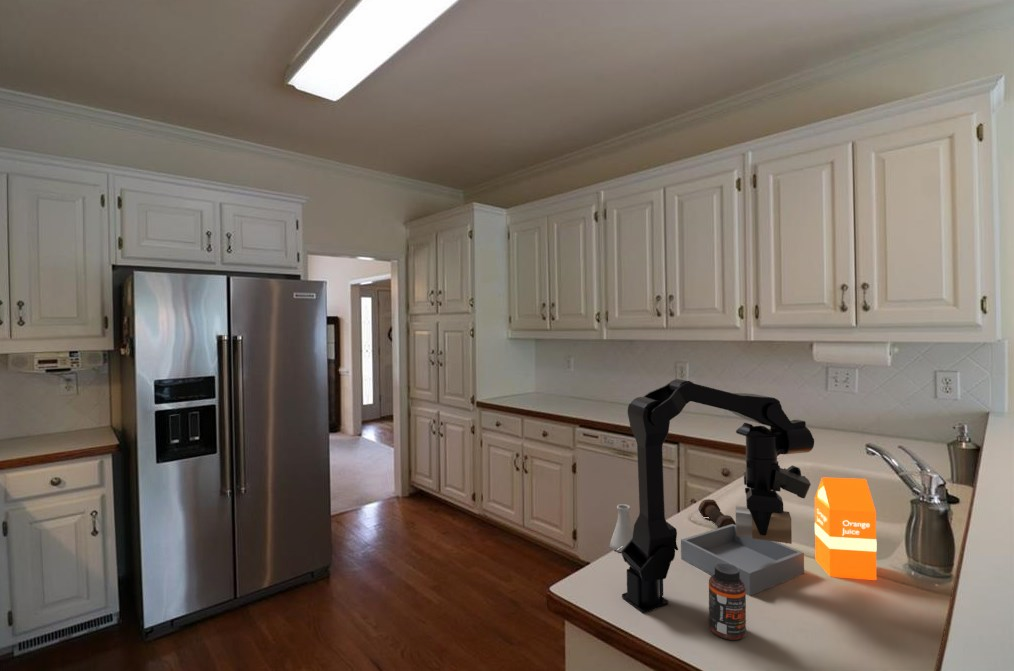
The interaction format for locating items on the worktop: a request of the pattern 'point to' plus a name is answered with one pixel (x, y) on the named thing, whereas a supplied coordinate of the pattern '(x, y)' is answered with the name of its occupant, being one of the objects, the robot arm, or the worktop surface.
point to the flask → (622, 529)
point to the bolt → (715, 513)
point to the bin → (744, 557)
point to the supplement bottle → (727, 602)
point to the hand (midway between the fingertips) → (762, 530)
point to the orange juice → (845, 528)
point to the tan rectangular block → (776, 530)
